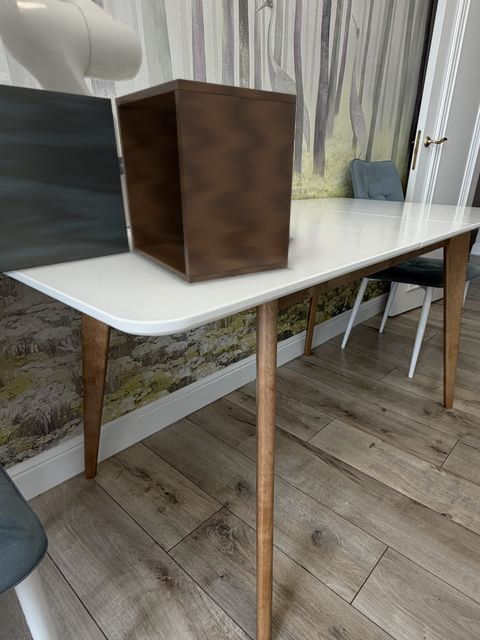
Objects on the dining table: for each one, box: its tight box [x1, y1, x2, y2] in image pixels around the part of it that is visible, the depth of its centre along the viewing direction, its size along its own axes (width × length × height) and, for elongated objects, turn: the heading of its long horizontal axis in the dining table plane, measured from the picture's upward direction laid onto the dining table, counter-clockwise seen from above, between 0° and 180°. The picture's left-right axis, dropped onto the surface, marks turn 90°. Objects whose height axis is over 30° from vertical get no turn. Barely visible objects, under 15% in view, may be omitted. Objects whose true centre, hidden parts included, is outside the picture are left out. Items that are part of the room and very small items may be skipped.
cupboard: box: [114, 78, 298, 284], centre depth 58 cm, size 16×22×22 cm
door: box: [0, 83, 131, 273], centre depth 55 cm, size 7×22×22 cm, turn 139°
